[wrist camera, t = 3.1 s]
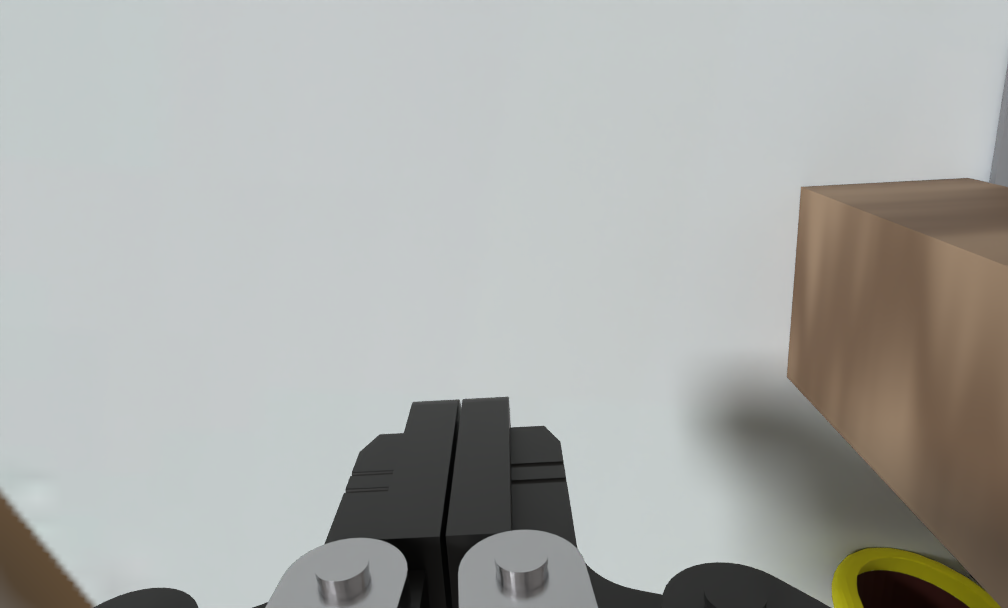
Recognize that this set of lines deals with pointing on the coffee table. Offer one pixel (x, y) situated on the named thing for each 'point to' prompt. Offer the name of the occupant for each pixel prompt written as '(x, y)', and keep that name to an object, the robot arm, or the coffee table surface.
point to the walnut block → (914, 348)
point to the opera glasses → (903, 583)
